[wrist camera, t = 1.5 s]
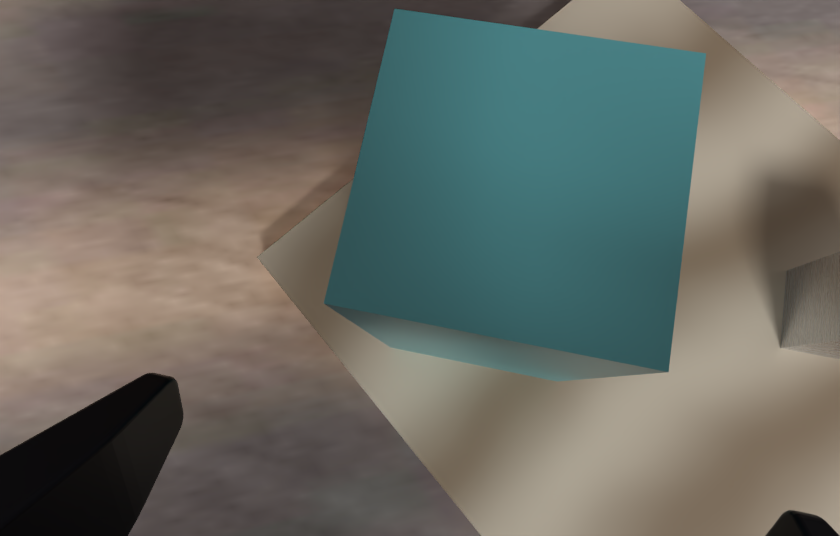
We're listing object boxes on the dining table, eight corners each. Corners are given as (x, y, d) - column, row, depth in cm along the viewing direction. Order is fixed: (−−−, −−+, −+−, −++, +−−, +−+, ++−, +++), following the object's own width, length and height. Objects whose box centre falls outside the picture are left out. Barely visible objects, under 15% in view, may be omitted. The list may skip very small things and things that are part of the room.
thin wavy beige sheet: (1054, 358, 19) (1087, 357, 18) (660, 751, 17) (672, 773, 16) (620, -27, 23) (627, -46, 22) (266, 263, 21) (257, 257, 20)
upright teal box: (557, 381, 19) (668, 371, 9) (390, 347, 19) (323, 303, 9) (582, 219, 20) (706, 52, 10) (423, 192, 20) (394, 8, 11)
